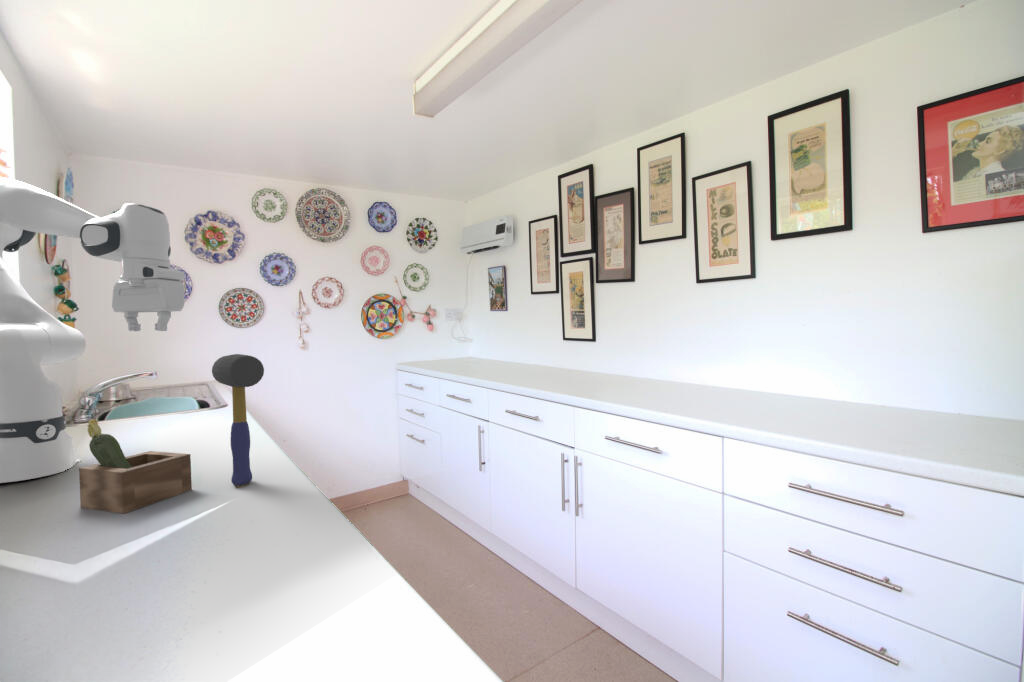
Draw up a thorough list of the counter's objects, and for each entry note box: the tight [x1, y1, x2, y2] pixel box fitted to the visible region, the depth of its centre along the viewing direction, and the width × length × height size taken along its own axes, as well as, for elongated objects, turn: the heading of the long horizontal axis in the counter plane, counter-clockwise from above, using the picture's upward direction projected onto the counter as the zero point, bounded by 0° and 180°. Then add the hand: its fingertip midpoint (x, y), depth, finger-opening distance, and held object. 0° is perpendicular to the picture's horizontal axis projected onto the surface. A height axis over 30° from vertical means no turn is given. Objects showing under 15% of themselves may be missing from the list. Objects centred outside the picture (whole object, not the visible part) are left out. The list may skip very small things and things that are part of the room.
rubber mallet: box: [211, 353, 265, 488], centre depth 97 cm, size 12×8×30 cm, turn 51°
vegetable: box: [87, 418, 132, 469], centre depth 90 cm, size 4×4×20 cm
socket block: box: [78, 450, 193, 514], centre depth 91 cm, size 13×13×8 cm
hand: (147, 331), depth 102 cm, fingers open, 8 cm apart
